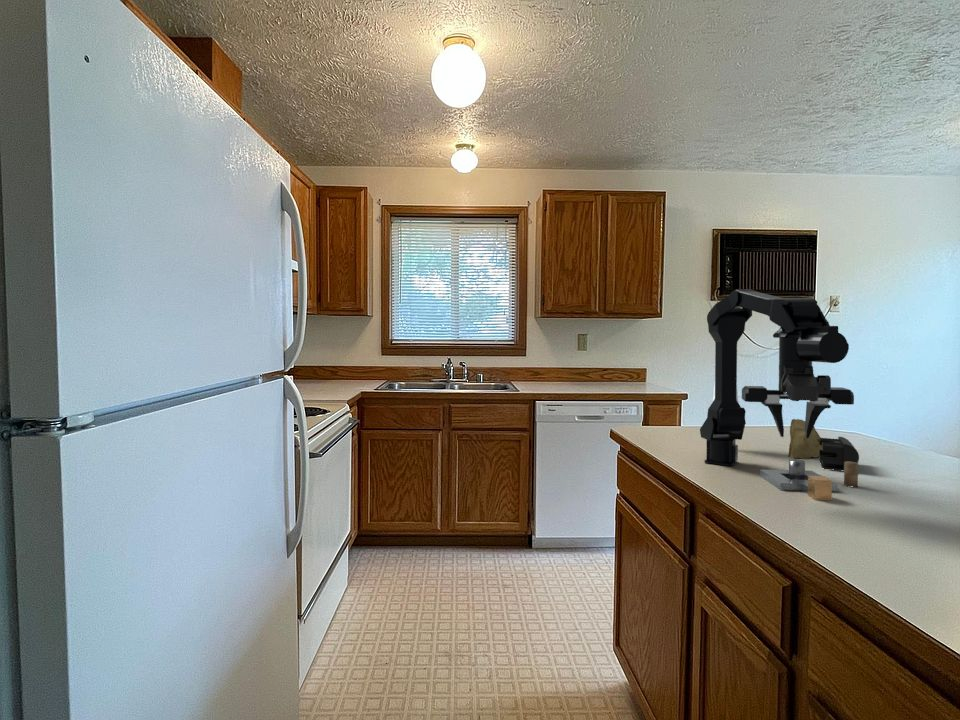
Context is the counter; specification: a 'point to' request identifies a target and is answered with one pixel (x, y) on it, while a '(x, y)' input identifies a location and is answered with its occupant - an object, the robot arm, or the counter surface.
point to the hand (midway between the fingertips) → (794, 437)
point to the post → (796, 469)
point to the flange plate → (802, 483)
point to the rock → (803, 441)
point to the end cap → (837, 453)
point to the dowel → (851, 473)
